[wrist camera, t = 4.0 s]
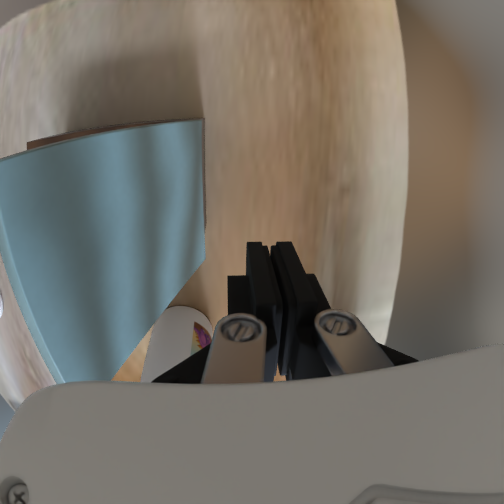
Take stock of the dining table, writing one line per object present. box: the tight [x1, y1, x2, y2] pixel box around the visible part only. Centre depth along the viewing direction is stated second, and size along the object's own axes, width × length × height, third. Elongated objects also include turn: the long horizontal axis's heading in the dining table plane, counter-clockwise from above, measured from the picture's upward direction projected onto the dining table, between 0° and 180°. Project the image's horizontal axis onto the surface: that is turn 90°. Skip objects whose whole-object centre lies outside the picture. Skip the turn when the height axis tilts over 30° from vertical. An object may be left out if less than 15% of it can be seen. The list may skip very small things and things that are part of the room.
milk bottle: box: [141, 306, 212, 383], centre depth 30 cm, size 8×8×20 cm
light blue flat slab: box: [0, 120, 205, 384], centre depth 16 cm, size 16×11×1 cm
